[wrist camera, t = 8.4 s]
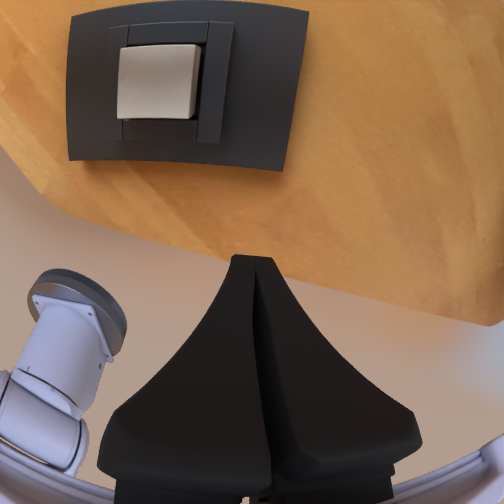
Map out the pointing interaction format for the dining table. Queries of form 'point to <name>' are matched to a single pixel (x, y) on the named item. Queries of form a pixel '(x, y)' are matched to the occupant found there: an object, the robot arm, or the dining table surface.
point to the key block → (208, 87)
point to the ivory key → (158, 81)
